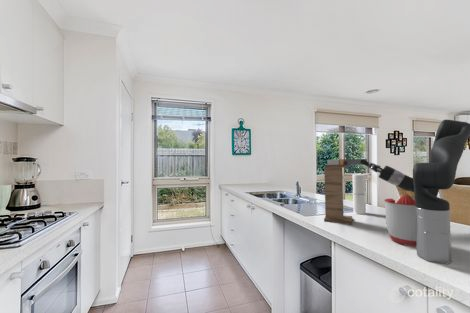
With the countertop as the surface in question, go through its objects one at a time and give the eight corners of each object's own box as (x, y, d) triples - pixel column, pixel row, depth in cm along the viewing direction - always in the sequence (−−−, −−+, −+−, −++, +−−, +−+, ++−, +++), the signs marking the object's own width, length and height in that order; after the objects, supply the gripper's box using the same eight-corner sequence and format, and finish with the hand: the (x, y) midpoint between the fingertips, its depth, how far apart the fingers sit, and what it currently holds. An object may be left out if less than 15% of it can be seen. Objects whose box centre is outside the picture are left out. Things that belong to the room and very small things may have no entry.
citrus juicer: (418, 236, 102) (417, 191, 103) (441, 250, 86) (439, 197, 86) (379, 233, 107) (378, 190, 107) (393, 246, 90) (391, 196, 91)
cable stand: (351, 224, 123) (350, 161, 123) (324, 221, 129) (322, 161, 130) (352, 218, 134) (350, 161, 135) (326, 216, 141) (325, 161, 141)
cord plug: (327, 164, 132) (327, 159, 133) (328, 164, 137) (328, 159, 137) (367, 164, 123) (366, 158, 123) (366, 164, 127) (366, 158, 128)
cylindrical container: (353, 213, 147) (352, 174, 148) (353, 211, 153) (352, 174, 154) (366, 214, 144) (365, 175, 144) (365, 212, 150) (364, 174, 151)
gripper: (393, 169, 125) (364, 155, 132) (397, 170, 113) (364, 154, 120) (385, 180, 127) (357, 166, 134) (389, 183, 114) (357, 166, 121)
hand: (360, 160), depth 127 cm, fingers open, 8 cm apart
